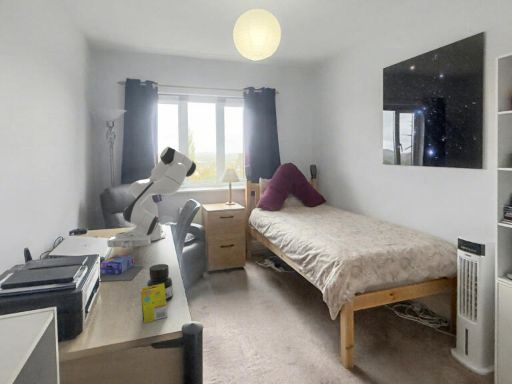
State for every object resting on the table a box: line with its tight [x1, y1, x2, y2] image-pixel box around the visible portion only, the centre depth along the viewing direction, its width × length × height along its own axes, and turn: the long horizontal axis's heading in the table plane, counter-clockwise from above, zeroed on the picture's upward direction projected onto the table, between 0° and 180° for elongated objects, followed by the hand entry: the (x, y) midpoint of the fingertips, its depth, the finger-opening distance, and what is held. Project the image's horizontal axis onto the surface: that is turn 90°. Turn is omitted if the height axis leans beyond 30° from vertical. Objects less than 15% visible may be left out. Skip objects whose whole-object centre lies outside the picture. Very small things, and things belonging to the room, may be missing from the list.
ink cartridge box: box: [99, 254, 135, 275], centre depth 146 cm, size 10×6×14 cm
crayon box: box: [140, 283, 168, 324], centre depth 102 cm, size 7×3×12 cm, turn 119°
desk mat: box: [100, 265, 144, 283], centre depth 143 cm, size 17×14×1 cm
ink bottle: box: [146, 263, 174, 302], centre depth 116 cm, size 10×9×12 cm
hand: (123, 245), depth 149 cm, fingers closed
